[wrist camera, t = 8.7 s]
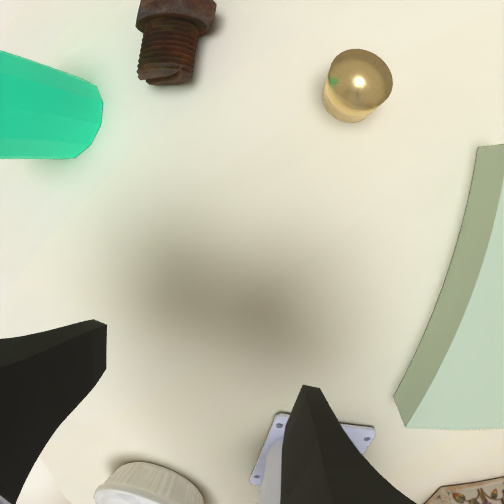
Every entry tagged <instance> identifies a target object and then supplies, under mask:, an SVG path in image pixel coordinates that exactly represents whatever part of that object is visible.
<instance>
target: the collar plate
mask: <svg viewBox="0 0 504 504" xmlns="http://www.w3.org/2000/svg"><path fill="white" fill-rule="evenodd" d="M394 399H395V402H396V405H397V407H398V410H399V413H400V415H401V418H402V421H403V423H404V426H405V428H416V429H439V430H480V429H503V428H504V144H499V145H491V146H484V147H478V151H477V157H476V163H475V169H474V174H473V179H472V184H471V189H470V194H469V198H468V203H467V207H466V211H465V215H464V219H463V223H462V227H461V231H460V234H459V238H458V241H457V245H456V248H455V251H454V255H453V258H452V261H451V264H450V267H449V270H448V273H447V276H446V279H445V282H444V285H443V288H442V291H441V293H440V296H439V299H438V301H437V304H436V306H435V309H434V312H433V314H432V317H431V319H430V321H429V324H428V326H427V329H426V331H425V333H424V336H423V338H422V340H421V342H420V345H419V347H418V349H417V351H416V353H415V356H414V358H413V360H412V362H411V364H410V366H409V368H408V370H407V372H406V374H405V376H404V378H403V380H402V382H401V384H400V386H399V388H398V390H397V391H396V393H395V395H394Z"/></svg>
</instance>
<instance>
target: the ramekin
mask: <svg viewBox="0 0 504 504" xmlns="http://www.w3.org/2000/svg"><path fill="white" fill-rule="evenodd" d="M94 499H95V503H96V504H204V501H203V497H202V495H201V493H200V492H199V490H198V489H197V488H196V487H195V486H194V485H193V484H192V483H191V482H190V481H189V480H187V479H186V478H185V477H183V476H181V475H180V474H178V473H176V472H174V471H172V470H170V469H167V468H165V467H162V466H159V465H156V464H152V463H147V462H132V463H127V464H125V465H122V466H121V467H119V468H118V469H117V470H116V471H115V472H114V473H113V474H112V475H111V476H110V477H109V478H108V479H107V481H106V482H105V483H104V484H102V485H100V486H99V487H98V488H97V490H96V491H95V493H94Z"/></svg>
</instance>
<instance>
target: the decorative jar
mask: <svg viewBox="0 0 504 504" xmlns="http://www.w3.org/2000/svg"><path fill="white" fill-rule="evenodd" d="M425 504H504V477H502V478H498V479H493V480H487V481H482V482H476V483H469V484H463V485H455V486H445V487H441V488H439V490H438V491H437V492H436V493H435V494H434V495H433V496H432V497H431V498H430V499H429V500H428V501H427V502H426V503H425Z"/></svg>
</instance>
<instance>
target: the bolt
mask: <svg viewBox="0 0 504 504" xmlns="http://www.w3.org/2000/svg"><path fill="white" fill-rule="evenodd" d="M216 5H217V4H216V3H215V2H214V1H213V0H141V2H140V6H139V10H138V15H137V20H136V28H137V29H138V30H139V31H141V32H142V33H144V34H143V39H142V44H141V49H140V55H139V57H140V58H139V61H138V62H139V64H138V66H137V67H138V70H137V73H138V74H139V75H138V78H139V79H140V80H145V79H146V82H147V83H148V84H150V85H172V84H180V83H183V82H185V81H186V80H187V79H189V78H191V77H192V75H191V74H190V73H192V72H193V70H192V68H193V65H192V63H193V62H194V59H193V58H194V57H195V55H194V53H195V51H196V50H195V49H194V48H196V42H197V39H196V38H198V37H199V36H202V35H203V34H205V33H206V32H207V31H208V30H209V28H210V27H211V25H212V22H213V20H214V17H215V11H216Z"/></svg>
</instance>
